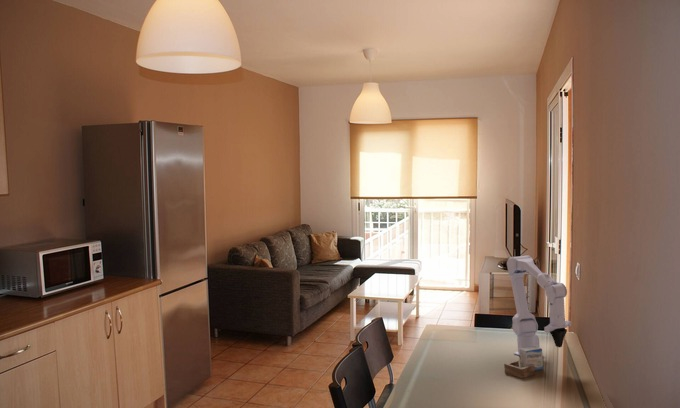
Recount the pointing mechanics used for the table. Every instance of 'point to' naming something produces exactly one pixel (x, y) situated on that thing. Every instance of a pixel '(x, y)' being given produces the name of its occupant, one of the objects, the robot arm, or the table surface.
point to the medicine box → (531, 357)
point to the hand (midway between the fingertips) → (558, 346)
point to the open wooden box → (518, 369)
